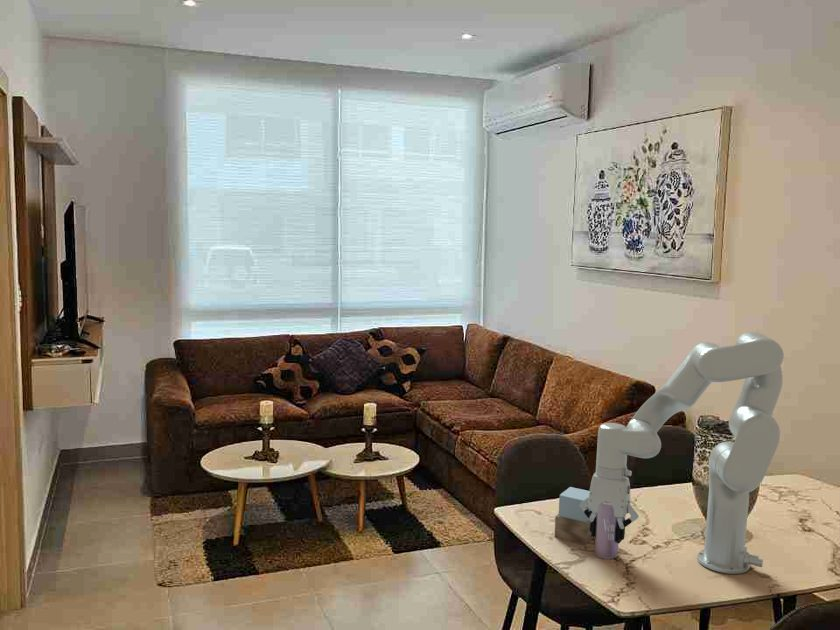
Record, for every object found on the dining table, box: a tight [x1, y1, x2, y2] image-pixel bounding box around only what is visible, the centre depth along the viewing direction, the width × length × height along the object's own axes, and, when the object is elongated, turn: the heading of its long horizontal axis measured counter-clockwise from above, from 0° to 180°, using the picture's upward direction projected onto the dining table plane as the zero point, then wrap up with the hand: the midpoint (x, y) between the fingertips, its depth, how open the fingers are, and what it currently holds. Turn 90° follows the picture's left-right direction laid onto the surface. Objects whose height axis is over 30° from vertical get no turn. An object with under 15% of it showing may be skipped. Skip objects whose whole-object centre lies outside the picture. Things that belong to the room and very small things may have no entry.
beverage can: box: [593, 501, 619, 560], centre depth 199 cm, size 6×6×15 cm
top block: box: [558, 486, 590, 523], centre depth 211 cm, size 8×8×6 cm
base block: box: [554, 513, 594, 545], centre depth 212 cm, size 9×9×6 cm
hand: (606, 537), depth 200 cm, fingers closed on beverage can, 6 cm apart
